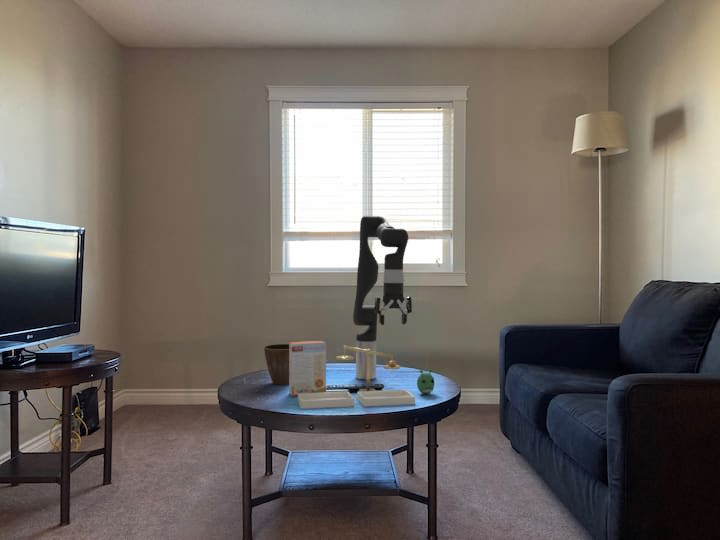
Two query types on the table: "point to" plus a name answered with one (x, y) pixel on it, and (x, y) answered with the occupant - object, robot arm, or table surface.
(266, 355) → the plant pot
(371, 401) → the dish
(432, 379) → the alien toy
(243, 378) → the table surface
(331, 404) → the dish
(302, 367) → the cracker box
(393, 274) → the robot arm
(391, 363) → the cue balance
